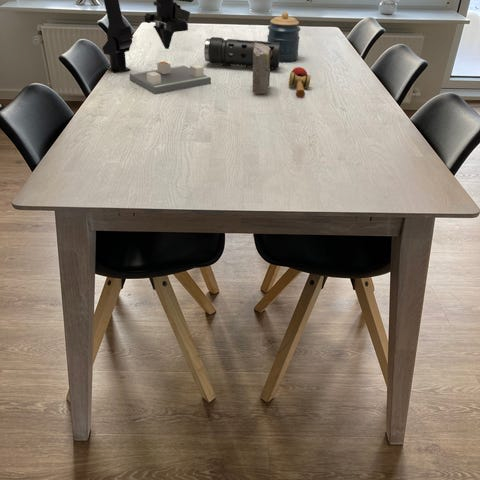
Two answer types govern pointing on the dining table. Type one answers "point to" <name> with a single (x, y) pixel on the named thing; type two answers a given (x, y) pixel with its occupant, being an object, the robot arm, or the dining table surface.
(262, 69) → the geological specimen
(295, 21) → the canister
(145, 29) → the dining table surface
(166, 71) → the switch
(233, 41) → the muzzle brake
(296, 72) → the kendama
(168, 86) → the switch panel
